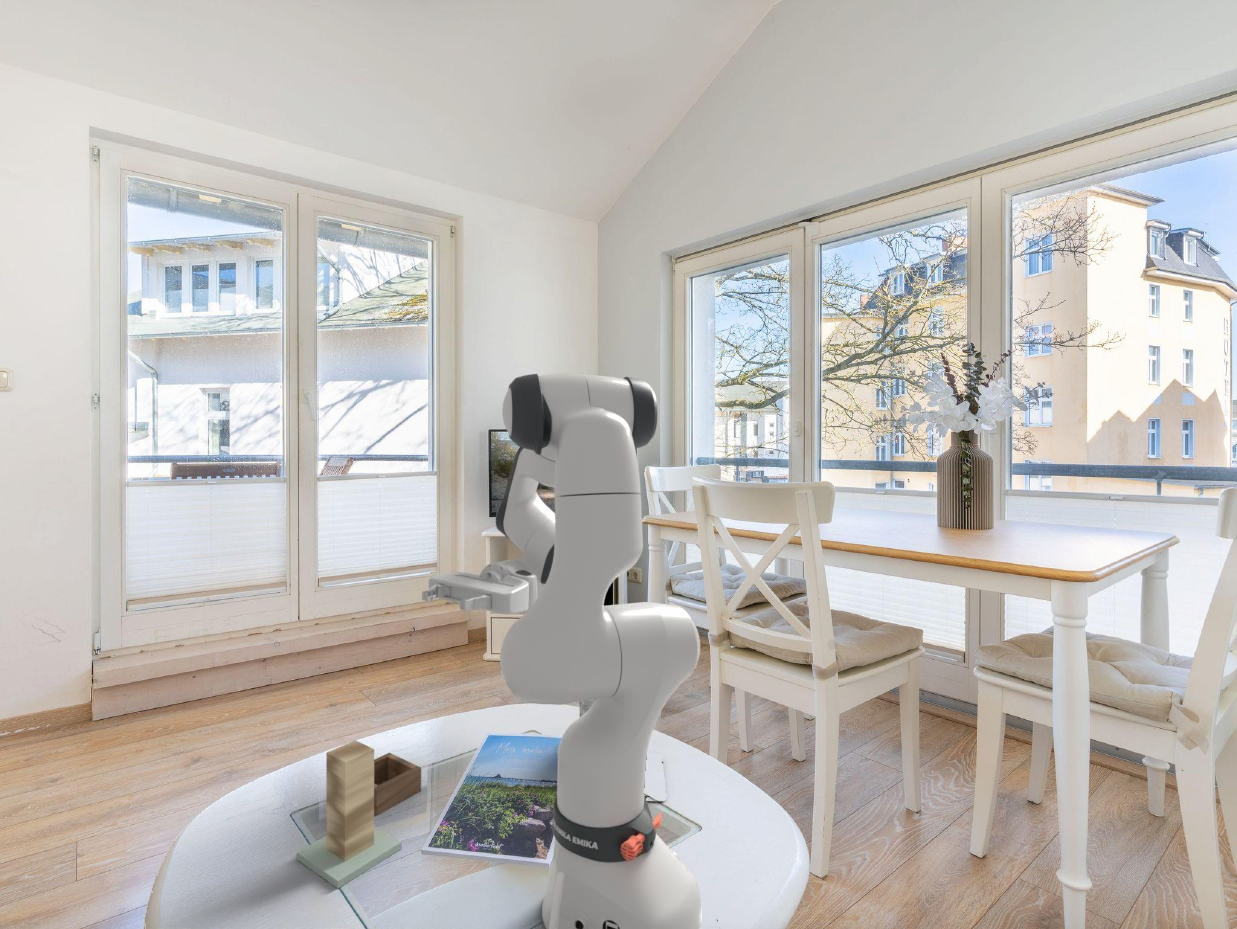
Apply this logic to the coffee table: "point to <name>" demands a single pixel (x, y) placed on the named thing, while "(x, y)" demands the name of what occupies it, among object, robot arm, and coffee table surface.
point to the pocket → (394, 781)
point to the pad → (342, 870)
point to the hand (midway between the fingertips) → (443, 601)
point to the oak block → (349, 799)
